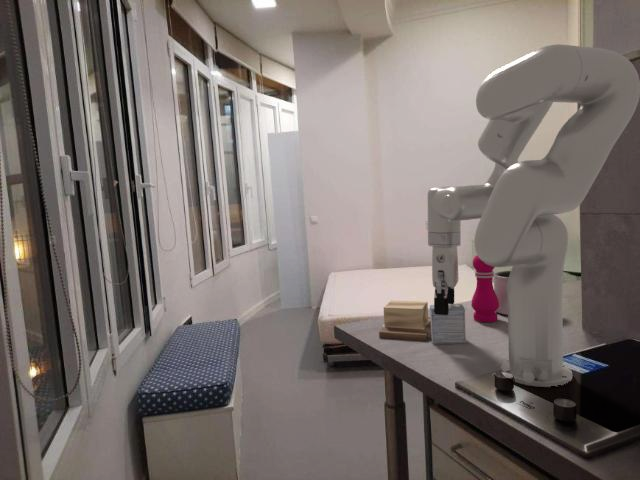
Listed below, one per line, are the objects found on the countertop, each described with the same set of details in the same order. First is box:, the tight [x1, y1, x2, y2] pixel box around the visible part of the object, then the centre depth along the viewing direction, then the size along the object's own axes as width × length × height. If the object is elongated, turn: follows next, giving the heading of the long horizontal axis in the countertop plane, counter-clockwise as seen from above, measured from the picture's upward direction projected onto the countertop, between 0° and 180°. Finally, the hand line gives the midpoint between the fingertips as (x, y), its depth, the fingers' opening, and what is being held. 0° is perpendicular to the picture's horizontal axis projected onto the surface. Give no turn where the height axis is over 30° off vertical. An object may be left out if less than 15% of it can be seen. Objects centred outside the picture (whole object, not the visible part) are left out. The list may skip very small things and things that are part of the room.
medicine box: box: [429, 303, 467, 345], centre depth 115 cm, size 8×4×9 cm, turn 80°
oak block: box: [383, 300, 429, 328], centre depth 127 cm, size 8×10×5 cm
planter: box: [493, 270, 511, 317], centre depth 137 cm, size 13×13×11 cm
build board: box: [378, 316, 431, 342], centre depth 126 cm, size 16×12×2 cm
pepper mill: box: [471, 255, 499, 323], centre depth 130 cm, size 7×7×20 cm
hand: (444, 308), depth 115 cm, fingers open, 9 cm apart
